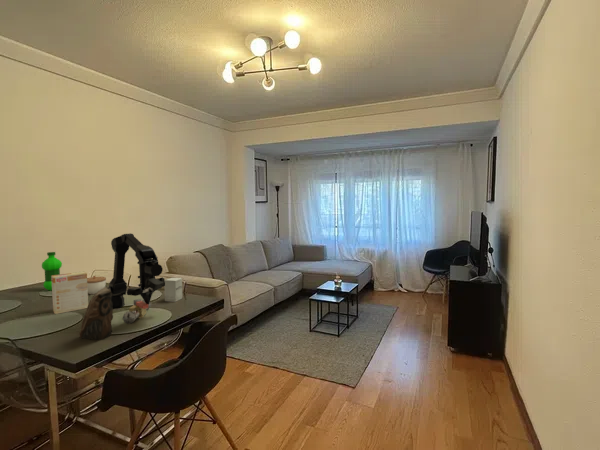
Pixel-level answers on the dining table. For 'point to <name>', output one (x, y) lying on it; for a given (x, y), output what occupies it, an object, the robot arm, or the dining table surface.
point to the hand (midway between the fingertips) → (147, 304)
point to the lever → (140, 304)
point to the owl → (98, 316)
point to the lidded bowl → (95, 284)
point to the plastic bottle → (51, 269)
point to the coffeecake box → (69, 292)
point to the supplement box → (173, 289)
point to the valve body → (134, 313)
